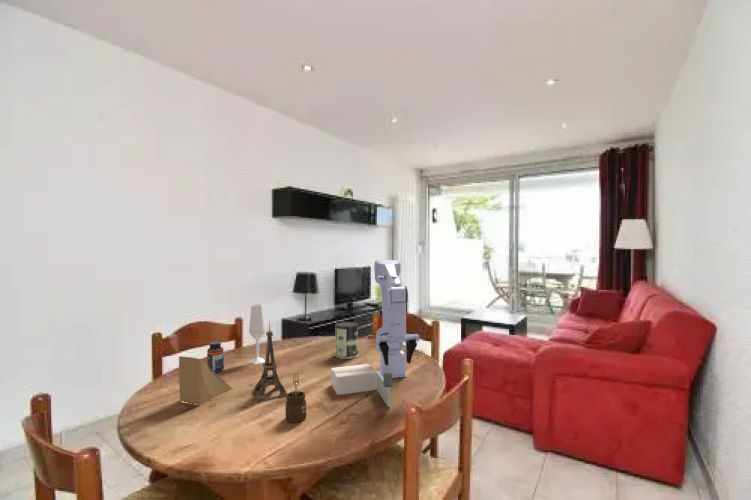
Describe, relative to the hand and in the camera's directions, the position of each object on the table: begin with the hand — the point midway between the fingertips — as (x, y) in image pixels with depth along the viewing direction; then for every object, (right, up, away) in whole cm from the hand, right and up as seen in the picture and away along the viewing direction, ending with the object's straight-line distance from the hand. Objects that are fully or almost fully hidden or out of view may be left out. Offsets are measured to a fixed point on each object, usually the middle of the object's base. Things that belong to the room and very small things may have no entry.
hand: (397, 363), depth 127 cm
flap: (-5, -10, -3) cm, 12 cm away
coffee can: (-20, -10, +44) cm, 49 cm away
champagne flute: (-57, -10, +36) cm, 68 cm away
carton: (-15, -10, +7) cm, 19 cm away
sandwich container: (-63, -11, 0) cm, 64 cm away
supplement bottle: (-70, -10, +24) cm, 75 cm away
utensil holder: (-30, -11, -16) cm, 36 cm away
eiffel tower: (-43, -11, +2) cm, 44 cm away
